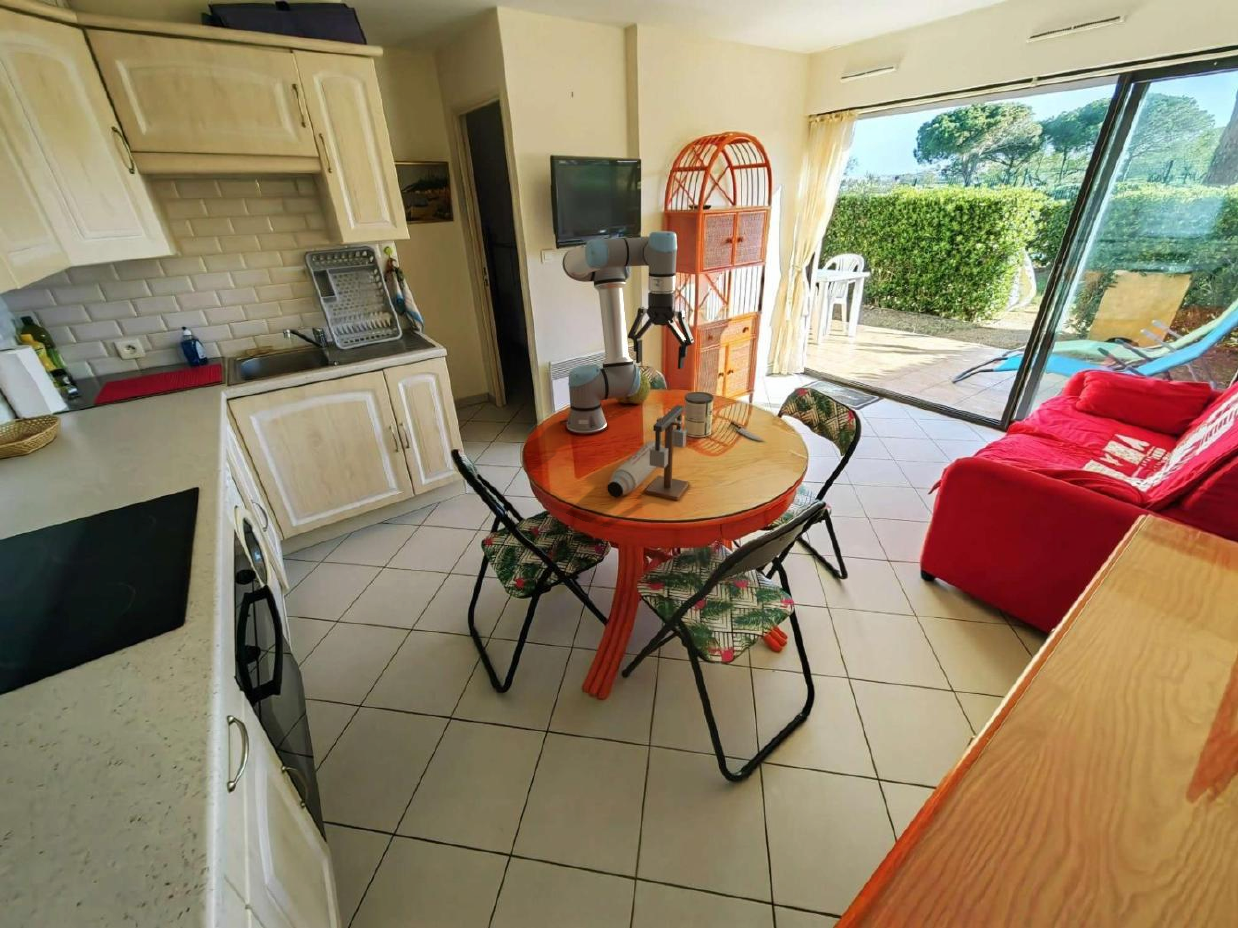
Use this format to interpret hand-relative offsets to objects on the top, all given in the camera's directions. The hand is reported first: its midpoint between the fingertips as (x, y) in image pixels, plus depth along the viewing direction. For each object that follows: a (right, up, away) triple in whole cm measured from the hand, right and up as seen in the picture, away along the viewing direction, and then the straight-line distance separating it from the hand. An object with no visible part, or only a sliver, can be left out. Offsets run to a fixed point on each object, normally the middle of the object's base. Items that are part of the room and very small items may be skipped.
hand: (659, 365), depth 154 cm
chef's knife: (+34, -19, +34) cm, 52 cm away
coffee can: (+17, -18, +36) cm, 44 cm away
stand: (+2, -37, -2) cm, 38 cm away
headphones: (+2, -27, -8) cm, 28 cm away
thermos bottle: (-1, -26, +12) cm, 29 cm away
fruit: (-7, -3, +67) cm, 67 cm away
